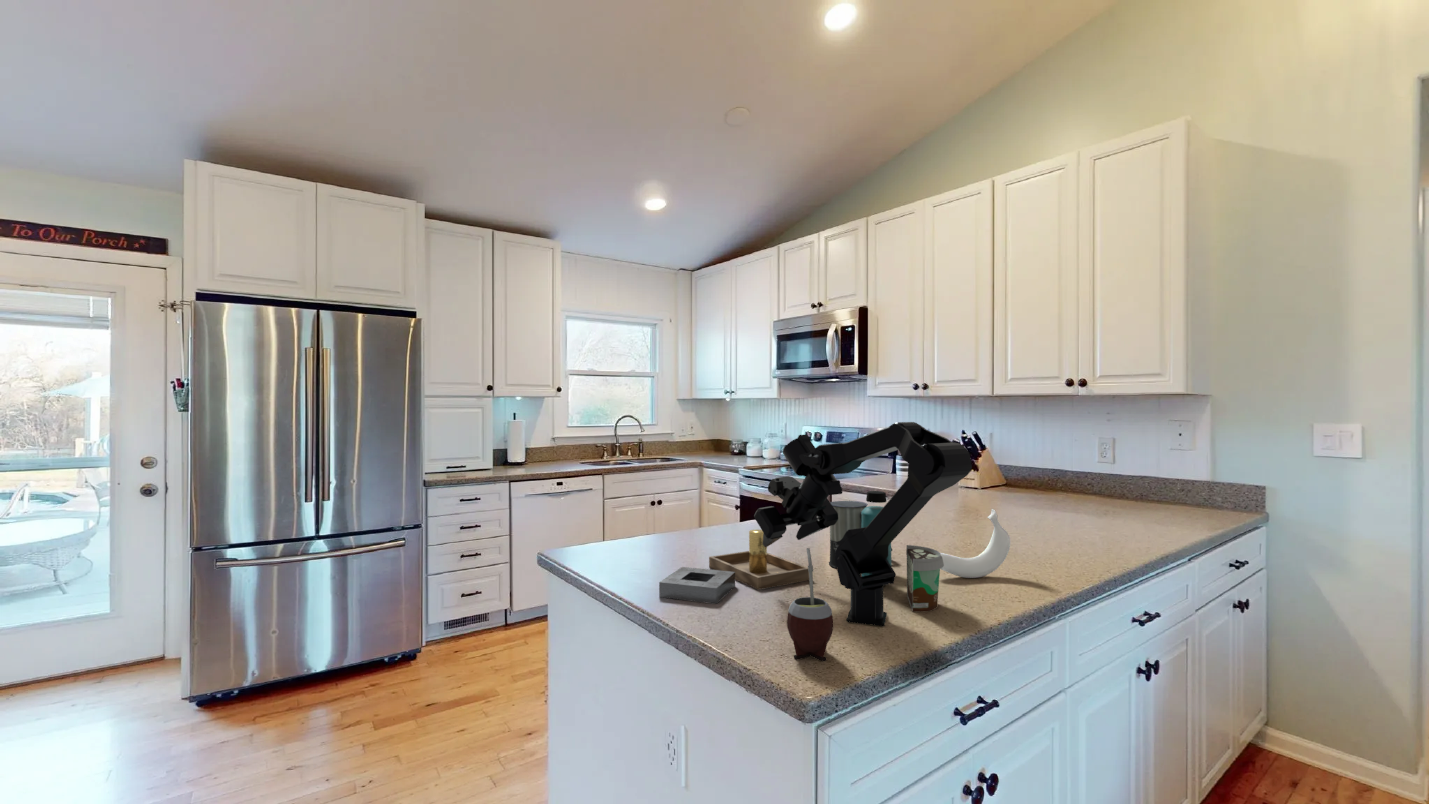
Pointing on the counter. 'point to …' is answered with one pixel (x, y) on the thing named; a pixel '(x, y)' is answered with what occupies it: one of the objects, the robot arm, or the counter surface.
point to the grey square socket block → (697, 585)
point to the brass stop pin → (757, 552)
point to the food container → (923, 577)
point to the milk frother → (844, 523)
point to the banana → (981, 555)
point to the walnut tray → (776, 573)
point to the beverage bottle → (873, 515)
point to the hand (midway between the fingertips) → (781, 541)
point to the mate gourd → (810, 623)
